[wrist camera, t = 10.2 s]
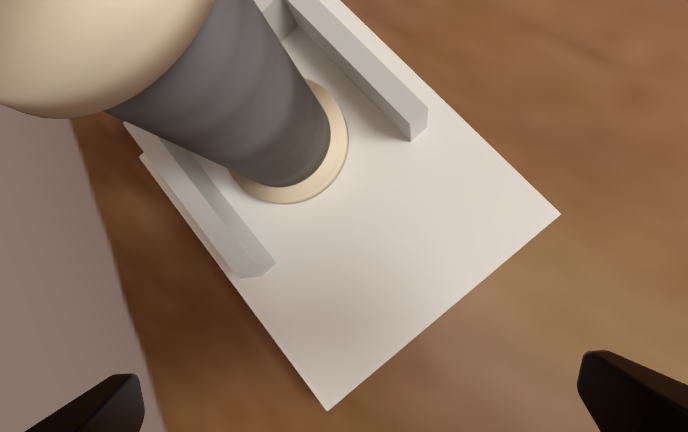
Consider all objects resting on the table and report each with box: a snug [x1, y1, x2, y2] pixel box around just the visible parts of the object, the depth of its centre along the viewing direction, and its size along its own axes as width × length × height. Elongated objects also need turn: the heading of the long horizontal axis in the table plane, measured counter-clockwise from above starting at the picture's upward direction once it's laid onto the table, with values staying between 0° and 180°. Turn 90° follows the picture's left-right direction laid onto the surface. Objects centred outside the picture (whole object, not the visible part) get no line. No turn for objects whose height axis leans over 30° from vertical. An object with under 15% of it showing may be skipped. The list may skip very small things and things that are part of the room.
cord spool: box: [0, 0, 349, 205], centre depth 13 cm, size 6×6×13 cm
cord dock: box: [123, 0, 561, 411], centre depth 18 cm, size 17×14×4 cm
